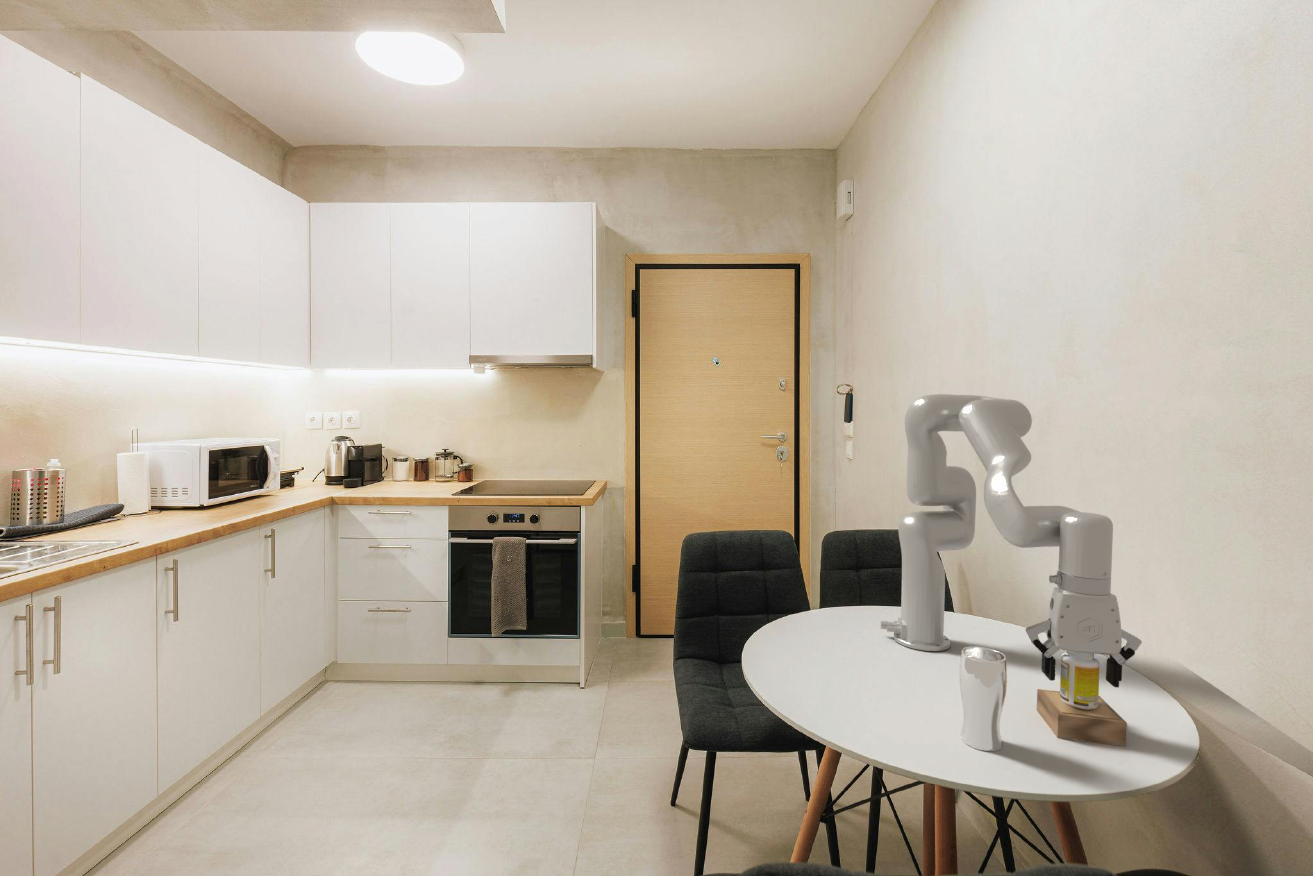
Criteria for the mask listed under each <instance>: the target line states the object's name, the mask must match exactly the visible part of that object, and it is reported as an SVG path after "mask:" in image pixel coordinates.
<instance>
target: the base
mask: <svg viewBox="0 0 1313 876" xmlns="http://www.w3.org/2000/svg"><path fill="white" fill-rule="evenodd" d="M1036 691H1037V693H1036V694H1037V695H1036V711H1037V712H1038V714H1039V715H1040V717H1041V718H1042V719H1043V721H1044V722H1045V723H1046V725H1047V726H1048V727H1049V728H1050V729H1051V730H1050V731H1052V732H1053V734H1054V735H1055V736H1056V738H1058V739H1065V740H1074V741H1081V742H1089V743H1096V744H1103V745H1104V744H1105V745H1111V746H1120V747H1126V746H1127V732H1128V731H1127V729H1128V728H1127V727H1128V726H1127V724H1128V722H1127V721H1126V720H1125V719H1124V718H1123V717H1122V716H1121V715H1120V714H1118V712H1116V710H1115V709H1114V708H1112V706H1110V705H1109V703H1107V702H1106V701H1105V700H1104V698H1102V697H1101V696H1100V695H1099V698H1098V707H1097V708H1095V709H1091V710H1085V709H1079V708H1075V707H1072V706H1070V705H1068V704H1066V703H1064V702H1063V701H1062V700H1061V698H1060V690H1059V691H1057V690H1048V689H1041V688H1037V690H1036Z"/></svg>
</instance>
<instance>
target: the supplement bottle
mask: <svg viewBox="0 0 1313 876" xmlns="http://www.w3.org/2000/svg"><path fill="white" fill-rule="evenodd" d="M1065 651H1066V650H1065ZM1059 678H1060V679H1059V687H1060V688H1059V691H1060V698H1061V700H1062V701H1063V702H1064V703H1066V704H1068V705H1070V706H1072V707H1075V708H1079V709H1085V710H1091V709H1095V708H1097V707H1098V698H1099V696H1100V692H1099V691H1100V661H1099V660H1098V659H1097V658H1096V657H1095V654H1094V653H1084V652H1074V651H1066V652H1063V653H1062V654H1061V656H1060V677H1059Z"/></svg>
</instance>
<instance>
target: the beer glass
mask: <svg viewBox="0 0 1313 876" xmlns="http://www.w3.org/2000/svg"><path fill="white" fill-rule="evenodd" d="M1007 671H1008V669H1007V657H1006V655H1005V654H1004V653H1002V652H1001V651H998V650H996V649H992V648H989V647H986V646H975V645H972V646H965V647H962V649H961V655H960V663H959V687H960V688H959V689H960V696H961V702H962V709H963V723H962V727H961V732H960V740H961V741H962V742H963V743H965V745H967V746H968V747H970V748H973V749H975V750H979V751H981V752H997V751H999V750H1001V749H1002V746H1003V745H1002V743H1003V742H1002V738H1001V737H1002V736H1001V731H1000V727H1001V726H1000V725H1001V717H1002V713H1003V708H1004V705H1005V699H1006V696H1007V685H1008V672H1007Z"/></svg>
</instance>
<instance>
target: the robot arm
mask: <svg viewBox="0 0 1313 876" xmlns="http://www.w3.org/2000/svg"><path fill="white" fill-rule="evenodd" d="M1032 422H1033V419H1032V415H1031V412H1030V410H1029V409H1028V408H1027V406H1025V404H1024V403H1022V402H1021V401H1019V400H1015V399H1008V398H1007V399H1005V398H999V397H998V398H997V397H992V396H991V397H990V396H983V395H973V394H972V395H971V394H970V395H969V394H945V393H944V394H941V393H937V394H928V395H927V394H926V395H922V396H919V397H918V398H915V399H914V400H913V401H912V402H911V403H910V405H909V406H908V408H907V410H906V412H905V415H904V430H905V436H906V441H907V443H906V444H907V459H906V460H907V462H906V463H907V464H906V465H907V467H906V494H907V495H906V496H907V498H908V500H909V501H910V502H911V504H914V505H917V506H921V507H942V508H943V510H926V511H925V510H923V511H914V512H910V513H908V514H906V515H904V516H903V517H902V518H901V519H900V521H899V523H898V529H897V530H898V539H899V544H900V552H901V596H900V598H901V599H900V600H901V603H900V617H898V618H897V620H893V622H892V621H886V620H880V624H879V627H880V628H879V629H880V630H886V633H887V632H888V633H893V640H894V641H896V643H898V644H899V645H901V646H904V647H906V648H910V649H913V650H914V649H915V650H917V651H918V650H919V651H925V652H941V651H946V650H948V649H950V647H951V639H949V637H948V636H946V635H945V634H944V632H945V630H944V629H945V627H944V624H945V598H946V596H945V594H946V593H945V591H946V570H945V567H944V564H943V562H942V561H941V559H940V557H939V555H938V552H946V551H947V552H948V551H957V550H960V551H961V550H965V549H966V548H968V547H969V546H971V544H972V542H973V539H974V537H975V532H976V531H975V530H976V514H977V512H976V511H977V487H976V483H975V480H974V477H973V475H972V474H971V473H970V472H969V471H968V470H967V469H966V468H964V467H961V466H956V465H955V466H954V465H950V466H949V465H947V450H948V449H947V447H946V444H945V442H944V440H943V438H942V436H941V435H940V434H939V432H963V433H964V435H965V436H966V438H967V440H968V442H969V443H970V445H971V447H972V448H973V450H974V452H975V453H976V455H977V457H978V459H979V460H980V462H981V464H982V466H983V467H984V469H985V471H986V477H985V480H984V484H983V501H984V505H985V509H986V511H987V514H988V515H989V517H990V519H991V520H992V523H993V524H994V526H995V528H996V529H997V531H998V533H1000V535H1001V536H1002V537H1003V539H1005V541H1006V542H1008V543H1009V544H1010V545H1012V546H1014V547H1017V548H1026V549H1027V548H1044V547H1045V548H1046V547H1049V548H1053V547H1054V548H1055V547H1056V548H1057V547H1059V548H1058V569H1057V571H1056V574H1054V575H1053V574H1051V575H1049V576H1048V581H1049V583H1050V584H1054V585H1056V586H1057V587H1054V588H1053V591H1052V593H1051V597H1050V601H1049V605H1048V606H1049V607H1048V611H1047V619H1046V620H1044V621H1041V622H1039V623H1036V624H1032V625H1030V626H1027V627H1025V633H1026V634H1027V636H1028V638H1029V639H1030V642H1031V644H1033V646H1034V647H1035V648H1036V649H1037V650H1039V652H1040V653H1041V672H1042V673H1043V674H1044V676H1045V677H1046V678H1047V679H1048V680H1049V681H1052V682H1053V681H1055V680H1056V658H1055V657H1054V655H1055V654H1056V653H1057V652H1058V651H1060V650H1062V651H1074V652H1084V653H1094V655H1108V656H1109V657H1107V659H1106V661H1105V662H1106V666H1105V667H1106V668H1105V680H1106V682H1107V683H1109V684H1110V685H1111V686H1112V687H1114V688H1120V682H1122V680H1123V679H1122V677H1123V666H1124V665H1126V663H1127V661H1128V660H1130V659H1131V658H1132V657H1134V655H1135V654H1136V651H1137V650H1138V649H1139V647H1140V646H1141V645H1142V640H1141V639H1140V638H1139V637H1137V636H1135V635H1133V633H1132V634H1131V633H1130V632H1128V631H1126V630H1124V629H1122V625H1121V623H1122V622H1121V614H1120V608H1119V602H1118V598H1117V596H1116V595H1115V594H1114V593H1111V592H1112V589H1111V588H1112V567H1113V566H1112V561H1113V538H1114V524H1113V522H1112V520H1111V519H1110V517H1108V516H1107V515H1103V514H1100V513H1093V512H1084V511H1083V512H1081V511H1079V510H1076V509H1073V508H1070V507H1067V506H1063V505H1030V506H1029V505H1027V506H1024V504H1023V503H1022V501H1021V500H1020V498H1019V497H1018V495H1017V493H1016V492H1015V489H1014V487H1013V483H1012V477H1013V476H1015V475H1018V474H1019V473H1020V472H1022V471H1024V469H1026V467H1028V465H1029V464H1030V463H1031V461H1032V454H1031V451H1030V450H1029V448H1028V447H1027V445H1026V444H1025V442H1024V441H1023V439H1022V438H1023V437H1024V436H1026V435H1027V434H1028V433H1029V431H1030V430H1031V428H1032ZM1045 632H1046V638H1047V639H1046V640H1045V641H1044V642H1043V643H1042V642H1041V640H1040V638H1039V635H1040V634H1042V633H1045ZM1122 639H1123V640H1125V641H1126V643H1125V645H1124V646H1122V641H1123V640H1122Z"/></svg>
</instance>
